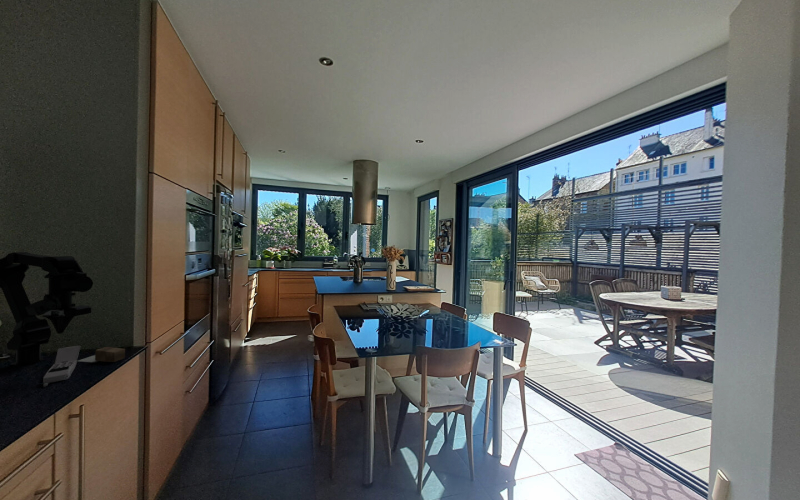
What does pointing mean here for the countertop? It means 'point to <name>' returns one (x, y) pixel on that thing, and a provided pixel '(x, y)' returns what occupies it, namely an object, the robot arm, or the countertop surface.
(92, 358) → the grey mat
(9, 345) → the robot arm
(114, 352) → the walnut block
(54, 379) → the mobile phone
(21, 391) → the countertop surface
